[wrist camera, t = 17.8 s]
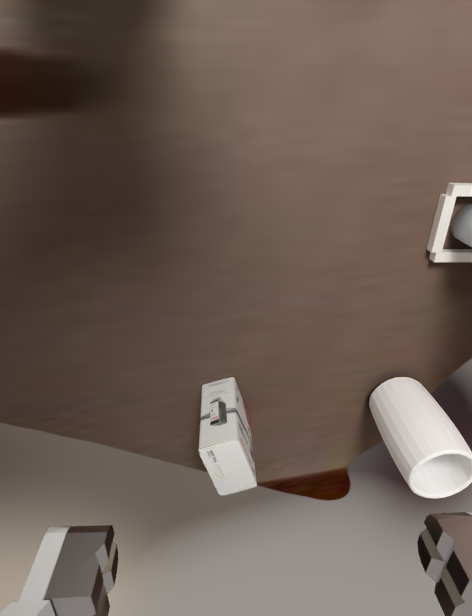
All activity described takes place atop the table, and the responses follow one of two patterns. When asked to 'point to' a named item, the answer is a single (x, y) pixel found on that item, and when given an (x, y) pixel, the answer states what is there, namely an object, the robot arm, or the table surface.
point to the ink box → (226, 437)
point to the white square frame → (442, 225)
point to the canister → (463, 225)
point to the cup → (421, 438)
